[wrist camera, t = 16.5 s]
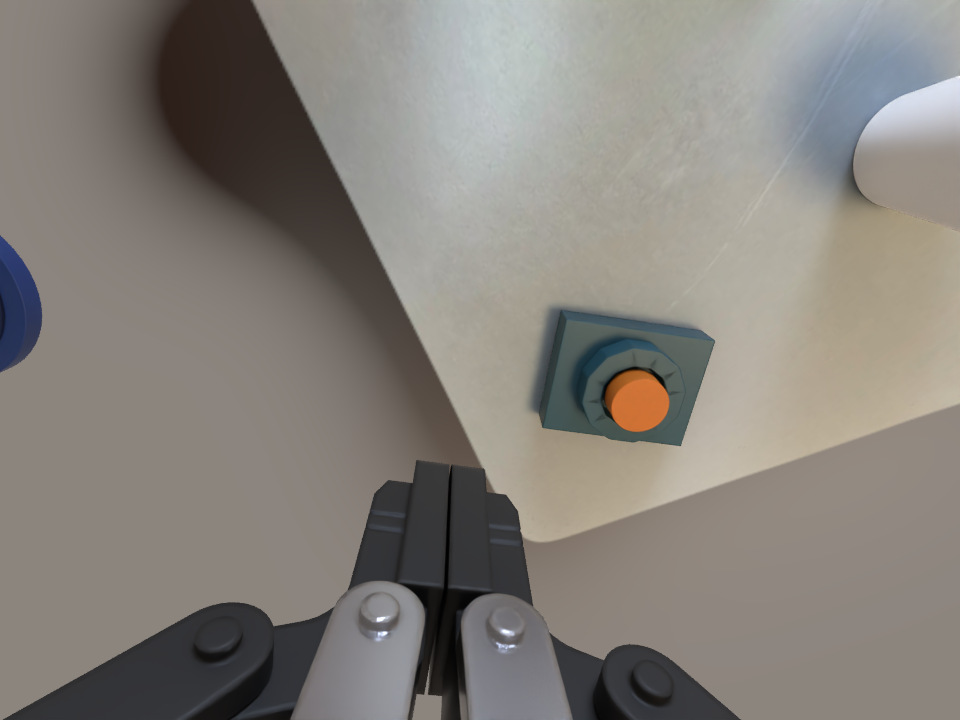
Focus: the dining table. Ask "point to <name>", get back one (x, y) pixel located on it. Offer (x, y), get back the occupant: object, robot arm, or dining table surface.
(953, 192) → the cup
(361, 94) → the dining table surface
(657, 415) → the push button
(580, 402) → the button block
